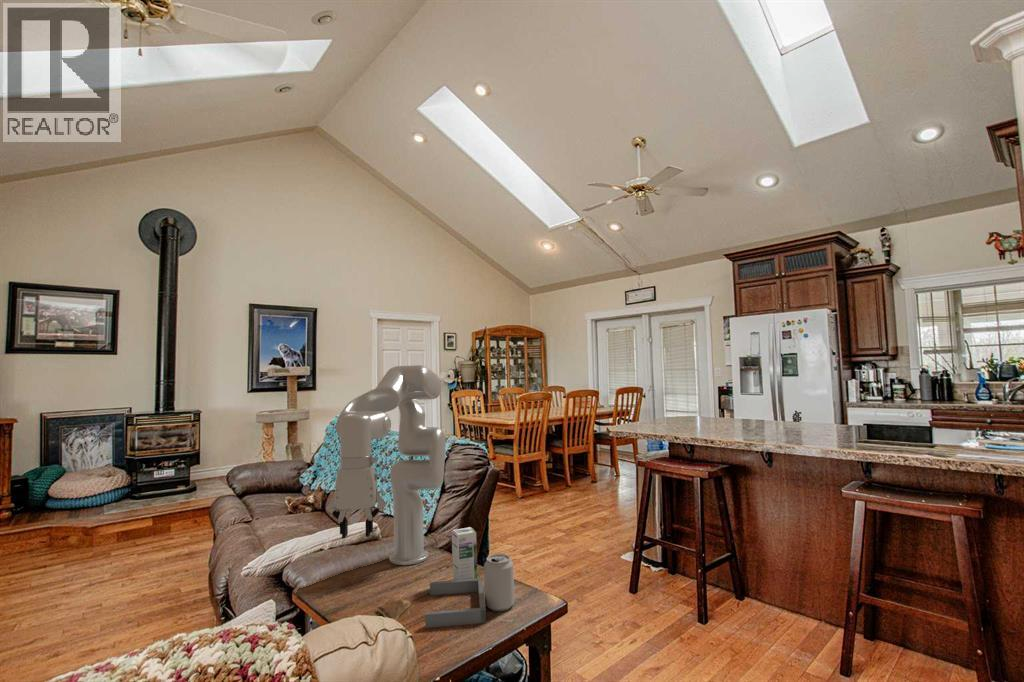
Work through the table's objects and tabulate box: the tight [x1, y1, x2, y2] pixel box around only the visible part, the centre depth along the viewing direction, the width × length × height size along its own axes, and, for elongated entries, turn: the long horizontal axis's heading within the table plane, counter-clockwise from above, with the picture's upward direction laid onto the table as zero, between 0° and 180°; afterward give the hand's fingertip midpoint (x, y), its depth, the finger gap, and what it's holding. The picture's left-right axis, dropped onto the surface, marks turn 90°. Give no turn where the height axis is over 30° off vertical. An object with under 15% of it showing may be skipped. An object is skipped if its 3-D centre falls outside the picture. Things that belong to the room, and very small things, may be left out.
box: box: [424, 577, 487, 629], centre depth 123 cm, size 18×14×3 cm
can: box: [483, 553, 515, 612], centre depth 124 cm, size 8×8×12 cm
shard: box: [376, 598, 412, 622], centre depth 121 cm, size 11×8×2 cm
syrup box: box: [451, 526, 479, 580], centre depth 139 cm, size 6×6×14 cm
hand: (356, 535), depth 122 cm, fingers open, 5 cm apart
